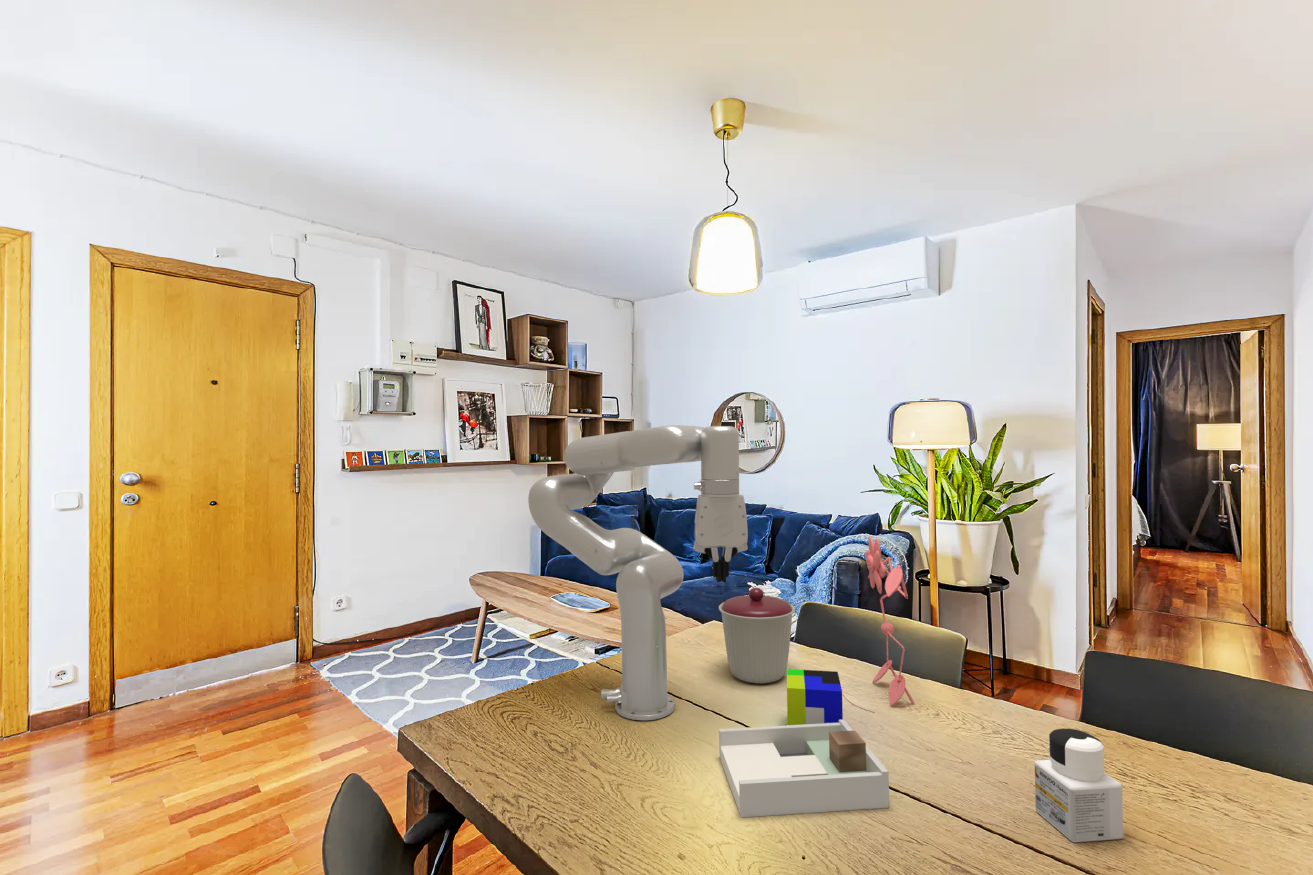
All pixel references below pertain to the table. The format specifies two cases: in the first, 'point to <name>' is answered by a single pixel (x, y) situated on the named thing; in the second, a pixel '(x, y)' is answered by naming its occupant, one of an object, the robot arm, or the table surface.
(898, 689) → the figurine
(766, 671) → the canister
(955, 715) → the table surface
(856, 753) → the walnut block
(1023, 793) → the table surface
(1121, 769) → the table surface
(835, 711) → the puzzle toy
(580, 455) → the robot arm
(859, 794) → the tray
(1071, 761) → the container
